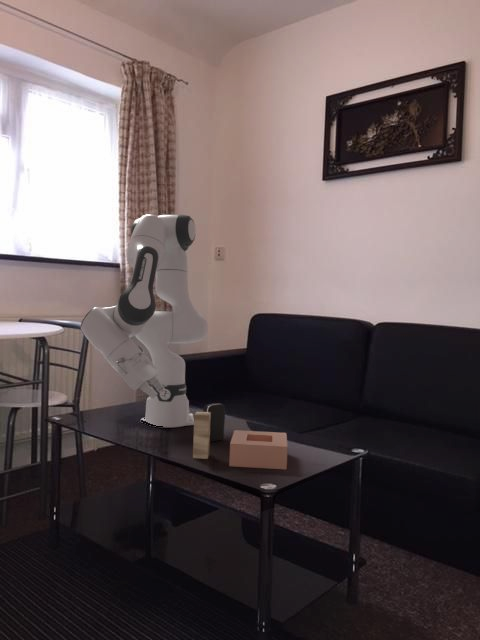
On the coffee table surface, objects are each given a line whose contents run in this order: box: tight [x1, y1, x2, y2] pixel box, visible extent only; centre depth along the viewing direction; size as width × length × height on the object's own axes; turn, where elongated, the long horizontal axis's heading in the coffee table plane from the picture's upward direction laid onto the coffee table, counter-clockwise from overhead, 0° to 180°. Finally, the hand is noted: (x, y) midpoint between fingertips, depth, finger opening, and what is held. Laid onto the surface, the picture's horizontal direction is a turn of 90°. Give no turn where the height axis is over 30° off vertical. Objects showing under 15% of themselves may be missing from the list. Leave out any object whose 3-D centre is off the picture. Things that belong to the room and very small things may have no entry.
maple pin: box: [192, 411, 211, 460], centre depth 149 cm, size 4×4×12 cm
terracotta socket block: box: [228, 429, 288, 470], centre depth 148 cm, size 15×15×6 cm
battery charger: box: [202, 402, 226, 443], centre depth 167 cm, size 7×4×11 cm, turn 134°
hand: (159, 393), depth 149 cm, fingers open, 8 cm apart
